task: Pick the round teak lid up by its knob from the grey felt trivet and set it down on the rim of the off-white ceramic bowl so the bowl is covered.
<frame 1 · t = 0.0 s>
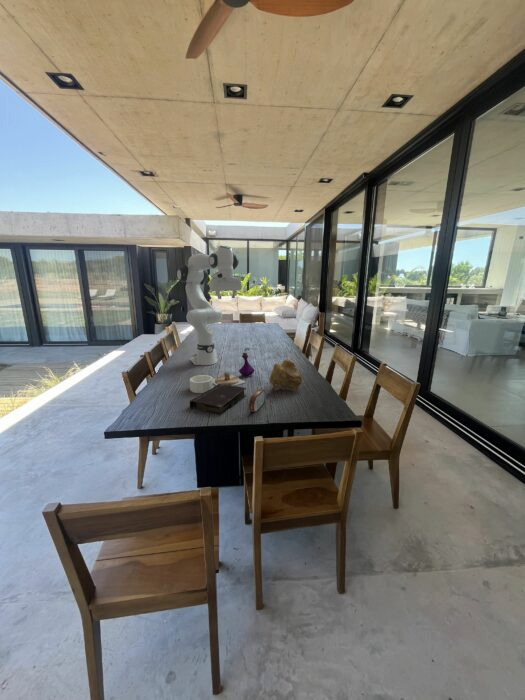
hand: (226, 298, 178), 48 cm above the table, fingers open, 8 cm apart
diary: (220, 402, 149), on the table
lid: (227, 381, 175), point 1 cm above the table, touching trivet
perfume bottle: (246, 375, 187), on the table
bowl: (201, 388, 165), on the table
trivet: (227, 382, 176), on the table
tin: (257, 408, 142), on the table
rough brown rock: (287, 388, 167), on the table
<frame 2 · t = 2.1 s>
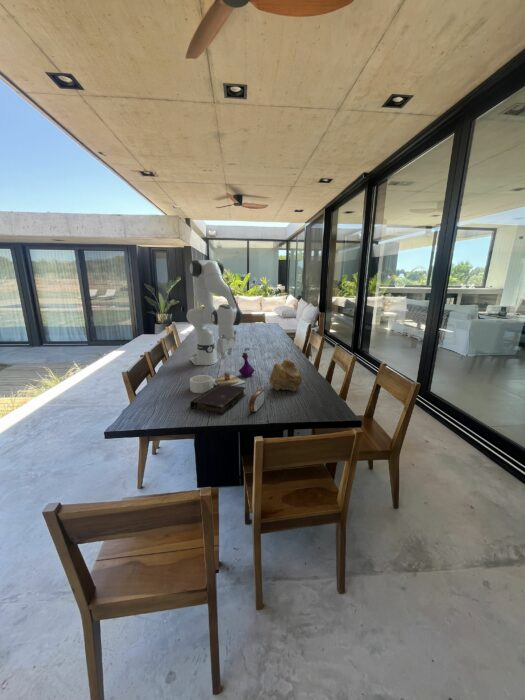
hand: (226, 356, 171), 16 cm above the table, fingers open, 8 cm apart
nothing on the table moved.
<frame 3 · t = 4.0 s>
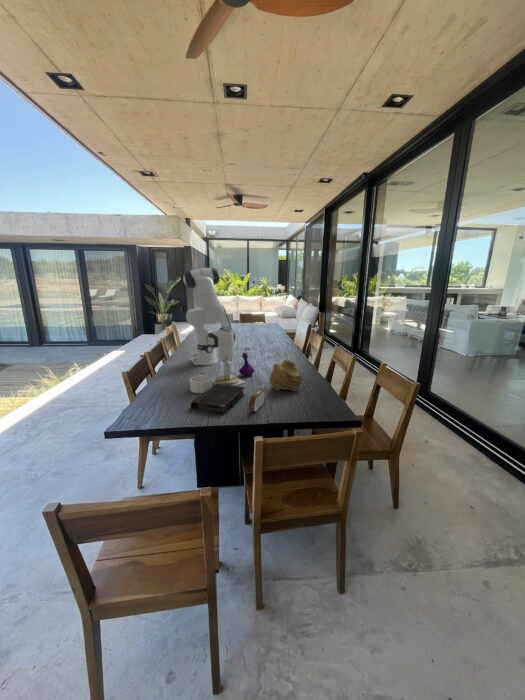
hand: (227, 377, 175), 3 cm above the table, fingers closed on lid, 3 cm apart
lid: (227, 381, 175), point 1 cm above the table, touching gripper, trivet
everything else where it was.
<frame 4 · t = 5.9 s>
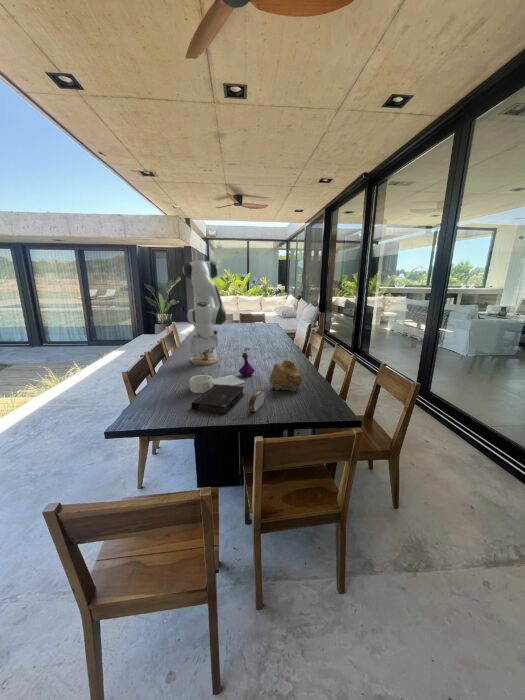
hand: (204, 357, 162), 18 cm above the table, fingers closed on lid, 3 cm apart
lid: (205, 361, 162), point 16 cm above the table, touching gripper
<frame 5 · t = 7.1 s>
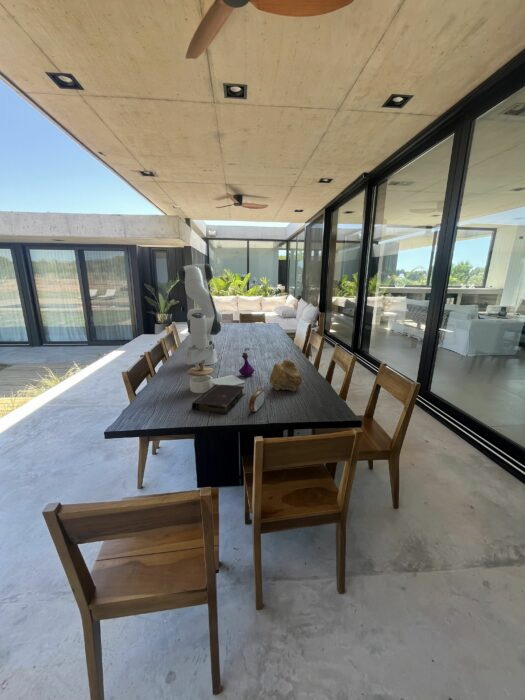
hand: (200, 368, 162), 12 cm above the table, fingers closed on lid, 3 cm apart
lid: (200, 372, 162), point 10 cm above the table, touching gripper
when the fingers open (9 cm above the table, at t = 7.8 s): lid drops 1 cm, resting on bowl.
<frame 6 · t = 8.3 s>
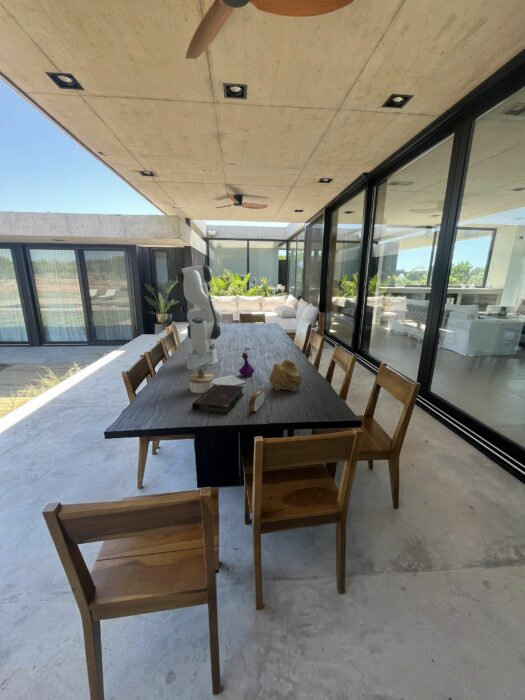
hand: (200, 373, 163), 9 cm above the table, fingers open, 8 cm apart
lid: (201, 378, 163), point 6 cm above the table, touching bowl
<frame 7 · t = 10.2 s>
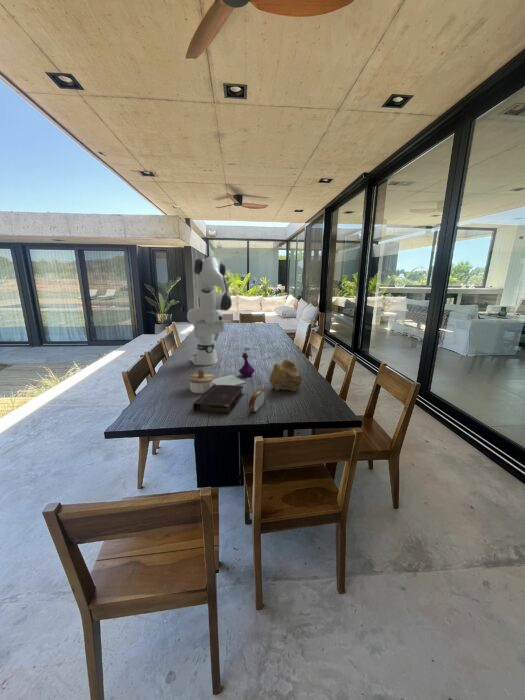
hand: (210, 342, 168), 24 cm above the table, fingers open, 8 cm apart
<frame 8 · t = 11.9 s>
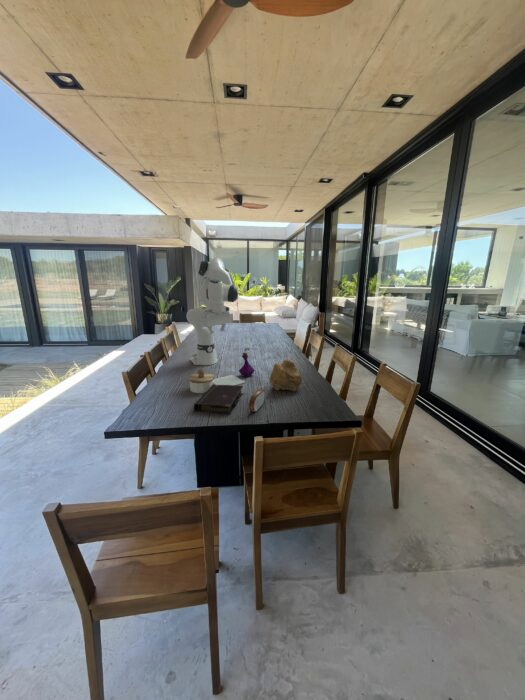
hand: (217, 332, 172), 29 cm above the table, fingers open, 8 cm apart
at the end: lid 0.1 cm off-centre on the bowl, point 6.0 cm above the bowl's base; lid tilted 0°; the gripper is holding nothing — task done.
